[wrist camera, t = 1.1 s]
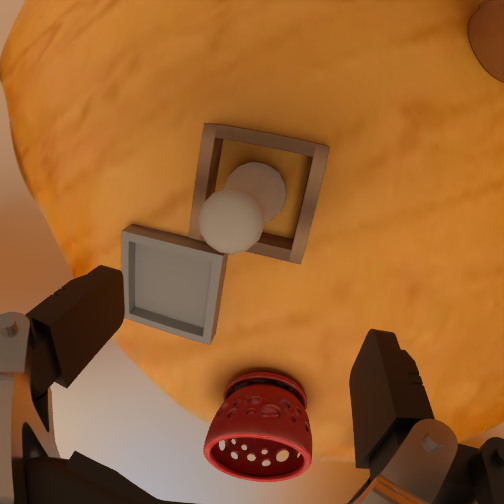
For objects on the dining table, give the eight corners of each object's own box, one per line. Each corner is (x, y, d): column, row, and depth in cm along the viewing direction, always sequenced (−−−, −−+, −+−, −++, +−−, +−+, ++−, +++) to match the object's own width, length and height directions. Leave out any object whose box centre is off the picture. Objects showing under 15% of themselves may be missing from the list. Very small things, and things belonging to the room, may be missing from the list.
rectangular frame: (213, 123, 29) (204, 123, 27) (327, 145, 28) (329, 147, 26) (198, 228, 34) (188, 237, 31) (301, 252, 33) (300, 264, 30)
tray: (132, 224, 35) (121, 230, 33) (229, 247, 34) (223, 255, 32) (131, 307, 40) (123, 317, 38) (215, 333, 39) (210, 345, 37)
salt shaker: (241, 151, 30) (197, 165, 18) (296, 171, 30) (287, 199, 18) (224, 204, 32) (174, 249, 21) (275, 224, 32) (254, 282, 20)
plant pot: (235, 421, 45) (217, 481, 34) (215, 362, 41) (187, 429, 30) (317, 420, 42) (313, 485, 31) (311, 359, 38) (307, 434, 27)
